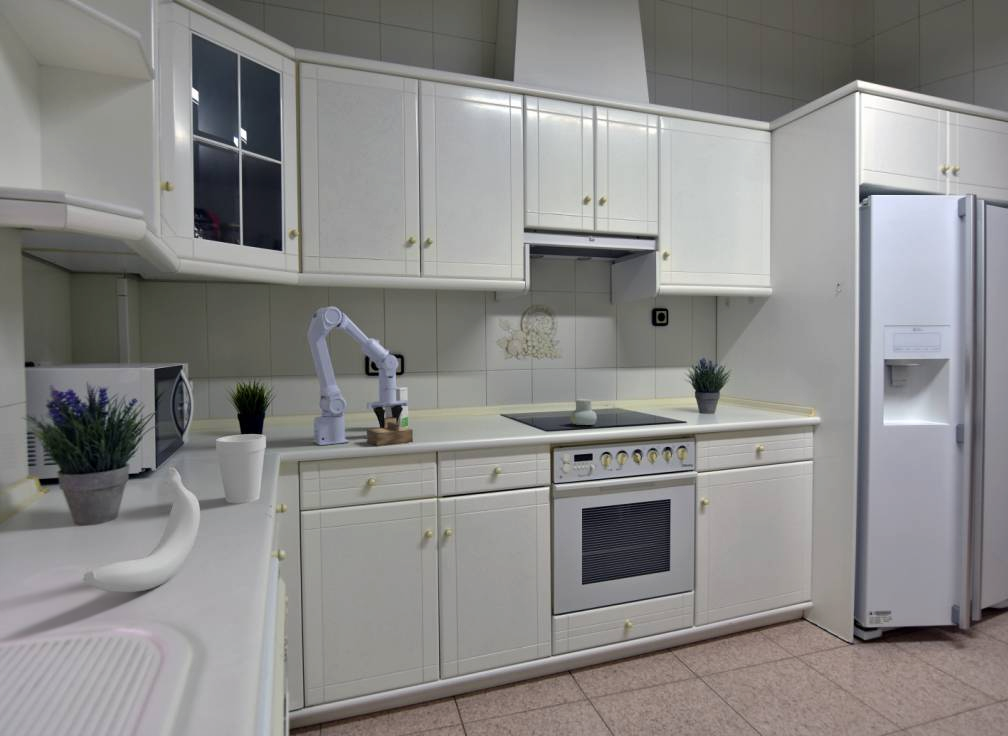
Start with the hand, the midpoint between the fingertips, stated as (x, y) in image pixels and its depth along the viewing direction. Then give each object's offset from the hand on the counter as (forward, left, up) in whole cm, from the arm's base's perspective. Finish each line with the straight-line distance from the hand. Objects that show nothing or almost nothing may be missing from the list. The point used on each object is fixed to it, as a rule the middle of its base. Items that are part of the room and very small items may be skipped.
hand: (388, 428), depth 194 cm
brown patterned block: (0, 0, -2) cm, 2 cm away
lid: (-4, -11, 0) cm, 12 cm away
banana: (-72, -93, -3) cm, 118 cm away
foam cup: (-55, -55, -3) cm, 78 cm away
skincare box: (+9, +14, -3) cm, 17 cm away
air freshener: (+71, -21, -3) cm, 74 cm away
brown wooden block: (-4, -11, -3) cm, 12 cm away
